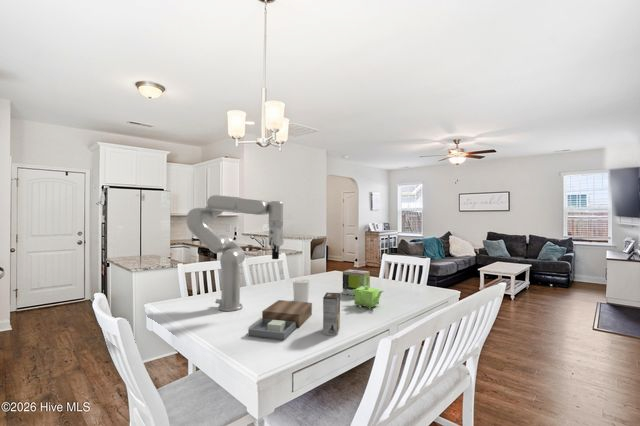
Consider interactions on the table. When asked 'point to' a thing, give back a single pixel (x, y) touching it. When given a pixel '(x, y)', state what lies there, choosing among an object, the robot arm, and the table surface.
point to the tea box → (355, 280)
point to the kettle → (366, 296)
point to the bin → (262, 332)
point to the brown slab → (288, 311)
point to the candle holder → (301, 290)
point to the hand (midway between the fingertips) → (275, 258)
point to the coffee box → (331, 313)
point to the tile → (276, 325)
